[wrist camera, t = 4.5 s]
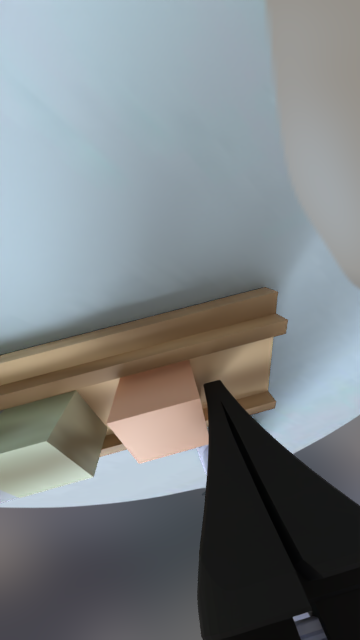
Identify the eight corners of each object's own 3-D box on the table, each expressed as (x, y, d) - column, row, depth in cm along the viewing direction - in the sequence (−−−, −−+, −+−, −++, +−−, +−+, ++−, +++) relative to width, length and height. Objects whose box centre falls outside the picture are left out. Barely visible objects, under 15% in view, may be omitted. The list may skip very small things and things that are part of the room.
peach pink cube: (199, 402, 12) (210, 443, 10) (143, 417, 12) (139, 463, 10) (189, 359, 10) (199, 398, 8) (120, 377, 10) (106, 423, 7)
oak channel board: (258, 396, 15) (291, 443, 12) (16, 463, 15) (-33, 536, 11) (264, 287, 10) (329, 309, 6) (-120, 386, 9) (-308, 477, 6)
